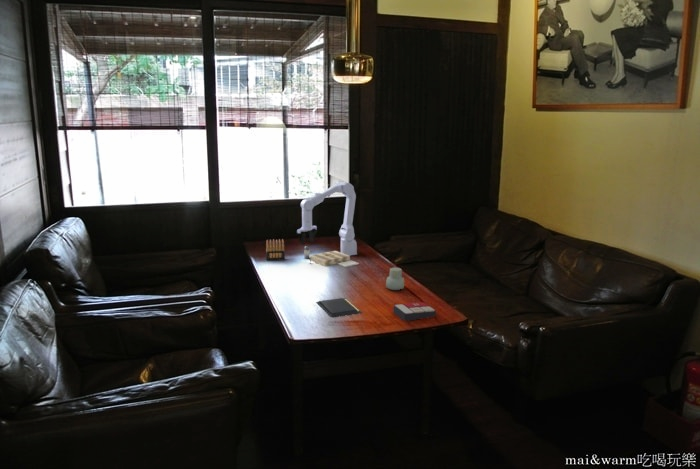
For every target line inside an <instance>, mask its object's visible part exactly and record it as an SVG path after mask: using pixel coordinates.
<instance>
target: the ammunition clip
mask: <svg viewBox="0 0 700 469" xmlns="http://www.w3.org/2000/svg"><path fill="white" fill-rule="evenodd" d="M265 243H266V244H265V253H266V254H265V260H266V261H274V260H279V259H280V260H285V258H286V257H285V256H286V255H285V241H284V239H283V238H282V239H281V238H279V239H276V240H275V238H273V239H266V242H265Z"/></svg>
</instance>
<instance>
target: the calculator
mask: <svg viewBox="0 0 700 469" xmlns="http://www.w3.org/2000/svg"><path fill="white" fill-rule="evenodd" d="M393 314H394V315H395V314H396V315H397V316H396V315H395V316H396V317H398V318H399V317H400V318H401V319H400V318H399V319H400V320H401V321H403V320H404V321H407V322H411V321H410V320H414V321H415V320H416V319H419V320H422V319H421V318H427V317H433V316H436V315H437V311H436V310H435V309H434V308H433V307H431V306H429V305H428V304H427V303H425V302H423V301H422V302H411V303H410V302H409V303H403V304H401V303H400V304H394V305H393ZM436 317H437V316H436ZM427 319H428V318H427ZM404 321H403V322H404Z"/></svg>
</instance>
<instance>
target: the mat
mask: <svg viewBox="0 0 700 469" xmlns="http://www.w3.org/2000/svg"><path fill="white" fill-rule="evenodd" d="M337 265H338V266H341V267H343V268H348V267H353V266H357V265H360V262H357V261H354V260H351V259H350V261H346V262H342V263H337Z"/></svg>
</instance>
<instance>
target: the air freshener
mask: <svg viewBox="0 0 700 469" xmlns="http://www.w3.org/2000/svg"><path fill="white" fill-rule="evenodd" d="M402 271H403V269H402V268H400V267H391V268H389V276H387V277H386V282H385V287H386V288H387V289H389V290H391V291H400V289H401V290H403V289H404V287H405V278H404V277H402V276H403V274H402Z"/></svg>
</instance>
